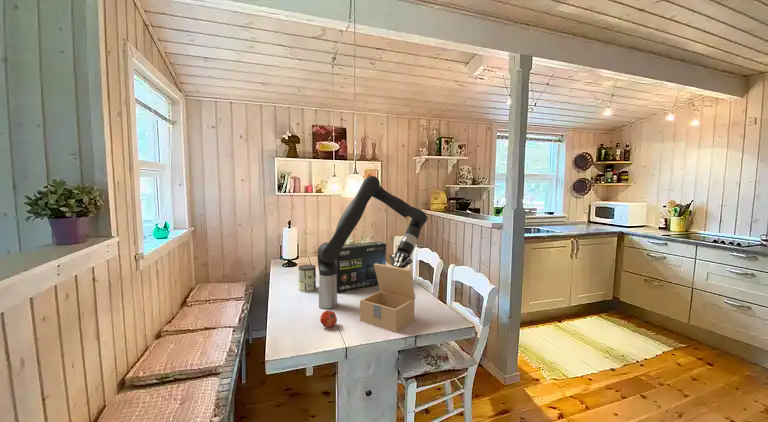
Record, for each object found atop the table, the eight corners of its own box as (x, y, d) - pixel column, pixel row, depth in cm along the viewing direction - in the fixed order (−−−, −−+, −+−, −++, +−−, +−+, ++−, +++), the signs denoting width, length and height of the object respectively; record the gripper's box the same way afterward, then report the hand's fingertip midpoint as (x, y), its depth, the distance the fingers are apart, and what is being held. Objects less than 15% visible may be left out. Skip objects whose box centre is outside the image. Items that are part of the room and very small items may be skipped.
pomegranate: (317, 331, 147) (325, 324, 140) (315, 315, 151) (323, 308, 144) (333, 329, 151) (341, 322, 144) (330, 314, 154) (338, 306, 148)
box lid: (380, 291, 165) (381, 289, 166) (414, 299, 154) (415, 298, 154) (373, 264, 159) (374, 263, 160) (408, 270, 148) (410, 269, 149)
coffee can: (307, 285, 205) (307, 263, 204) (319, 288, 200) (319, 266, 199) (295, 290, 197) (294, 267, 196) (307, 293, 191) (306, 269, 190)
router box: (336, 294, 190) (336, 248, 188) (328, 289, 200) (328, 245, 197) (387, 283, 210) (387, 242, 208) (378, 279, 219) (378, 240, 217)
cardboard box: (380, 310, 166) (380, 291, 165) (414, 320, 154) (414, 299, 154) (359, 321, 153) (359, 300, 152) (395, 332, 141) (395, 310, 140)
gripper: (393, 239, 167) (379, 267, 158) (416, 241, 159) (402, 271, 150) (399, 247, 171) (385, 275, 162) (421, 250, 164) (408, 280, 155)
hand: (393, 273), depth 156 cm, fingers closed
